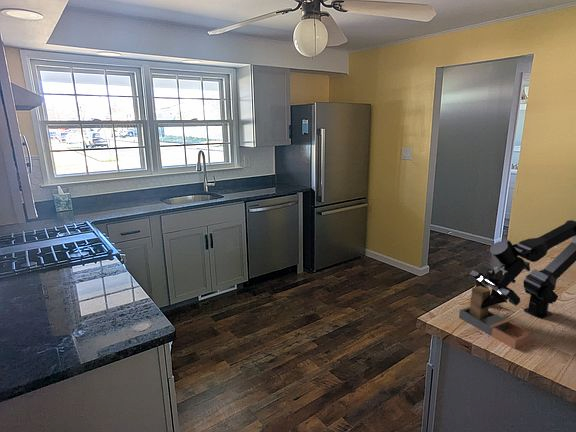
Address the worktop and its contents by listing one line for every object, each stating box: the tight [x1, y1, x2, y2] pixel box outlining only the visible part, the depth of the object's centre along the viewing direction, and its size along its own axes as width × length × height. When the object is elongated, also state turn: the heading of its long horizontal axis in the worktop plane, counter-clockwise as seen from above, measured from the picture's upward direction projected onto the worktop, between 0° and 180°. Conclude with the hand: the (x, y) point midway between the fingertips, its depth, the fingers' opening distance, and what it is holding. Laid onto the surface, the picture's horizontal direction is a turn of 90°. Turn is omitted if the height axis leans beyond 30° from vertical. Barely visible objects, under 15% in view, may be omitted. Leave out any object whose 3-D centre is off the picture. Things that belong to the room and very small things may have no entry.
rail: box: [458, 306, 535, 350], centre depth 122 cm, size 8×21×3 cm, turn 24°
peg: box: [469, 286, 492, 320], centre depth 126 cm, size 4×4×12 cm
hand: (476, 303), depth 125 cm, fingers closed on peg, 5 cm apart
